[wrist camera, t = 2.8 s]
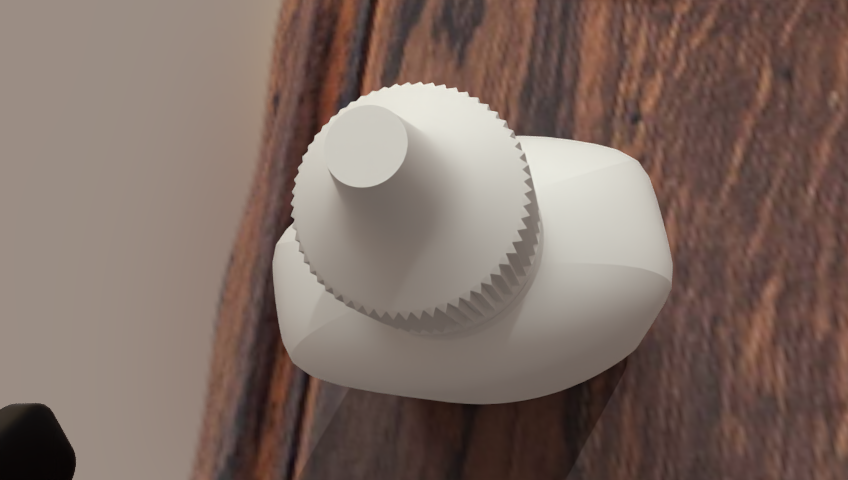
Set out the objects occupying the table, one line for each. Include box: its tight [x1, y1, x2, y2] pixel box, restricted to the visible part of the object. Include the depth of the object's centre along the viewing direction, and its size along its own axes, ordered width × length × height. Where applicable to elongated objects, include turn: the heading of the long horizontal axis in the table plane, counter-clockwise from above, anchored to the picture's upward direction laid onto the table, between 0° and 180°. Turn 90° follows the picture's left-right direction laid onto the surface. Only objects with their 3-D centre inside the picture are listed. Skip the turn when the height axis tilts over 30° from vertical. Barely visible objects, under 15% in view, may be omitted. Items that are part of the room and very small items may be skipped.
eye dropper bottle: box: [273, 82, 673, 404], centre depth 12 cm, size 4×6×12 cm
